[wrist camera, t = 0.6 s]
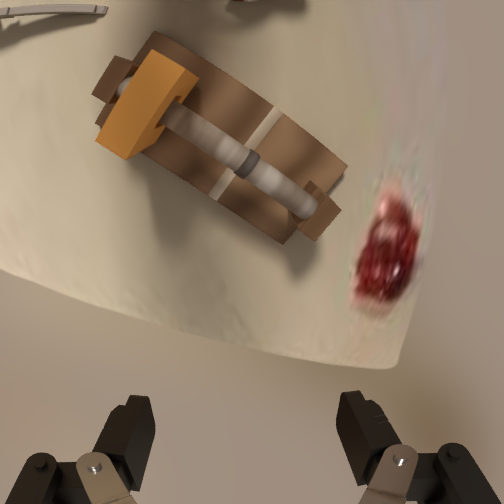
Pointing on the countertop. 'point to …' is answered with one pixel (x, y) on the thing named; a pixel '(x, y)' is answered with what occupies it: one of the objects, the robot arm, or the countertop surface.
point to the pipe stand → (235, 146)
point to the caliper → (52, 10)
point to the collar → (145, 105)
